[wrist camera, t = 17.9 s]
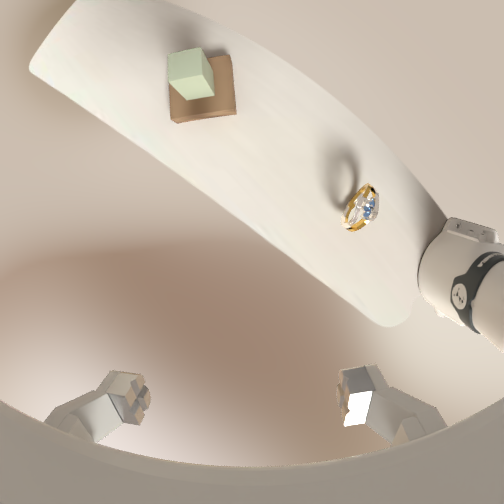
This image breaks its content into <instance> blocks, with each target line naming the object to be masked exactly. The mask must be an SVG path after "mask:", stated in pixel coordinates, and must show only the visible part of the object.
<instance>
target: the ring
mask: <svg viewBox="0 0 504 504" xmlns="http://www.w3.org/2000/svg"><path fill="white" fill-rule="evenodd" d="M370 191H371V192H372V195H373V197H372V198H370V200H367V196H368V194H369V192H370ZM358 200H359V201H358ZM357 201H358V203H357V206H356V209H355V213H354V215H353V218H352V219H351V220H350V221H349V222H348V216H349V214H350V212H351V210H352V209H353V208H354V207H355V204H356V202H357ZM362 203H363V206H361V205H362ZM369 207H370V208H369ZM378 208H379V195H378V192H377V190H376V189H375V188H374V187H373V186H371V185H370V184H369V183H367V184H365V185H364V186H363V187H362V188H361V189H360V190H359V191H358V192H357V193H356V194H355V195H354V196H353V198H352V199H351V200H350V201H349V202H348V203H347V206H346V208H345V210H344V212H343V214H342V217H341V225H342V226H343V227H344V228H345V229H347V230H348V231H351V232H353V231H357V230H359V229H361V228H362V227H364V226H365V225H366V224H367V223H368V222H369V221H373V220H374V219H375V218H376V217H377V214H378ZM360 209H362V210H363V213H362V214H361V216H360V217H361V218H362V219H361V220H360V221H359V222H357V223H356V224H354V223H355V222H356V220H357V218H358V215H359V212H360ZM370 214H371V215H370ZM369 215H370V216H369ZM368 216H369V217H368Z"/></svg>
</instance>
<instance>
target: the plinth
mask: <svg viewBox="0 0 504 504" xmlns="http://www.w3.org/2000/svg"><path fill="white" fill-rule="evenodd" d="M207 60H208V62H209V64H210V66H211V68H212V70H213V76H214V90H215V96H209V97H203V98H197V99H192V100H186V99H185V98H184V97H183V96H182V95H181V94H180V93H179V92H178V91H177V90H176V89H175V88H174V87H173V86H172V85H171V84H170V83H169V91H170V116H171V120H172V121H174V122H176V123H182V122H188V121H194V120H200V119H206V118H212V117H220V116H227V115H235V114H237V113H236V102H235V91H234V80H233V69H232V61H231V58H230V55H224V56H217V57H211V58H207Z"/></svg>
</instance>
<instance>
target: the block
mask: <svg viewBox="0 0 504 504" xmlns="http://www.w3.org/2000/svg"><path fill="white" fill-rule="evenodd" d="M168 82H169V83H170V84H171V85H172V86H173V87H174V88H175V89H176V90H177V91H178V92H179V93H180V94H181V95H182V96H183V97H184V98H185V99H186V100H192V99H197V98H203V97H209V96H215V90H214V76H213V70H212V68H211V66H210V64H209V62H208V60H207V58H206V56H205V54H204V52H203V50H202V48H201V47H198V48H193V49H188V50H183V51H179V52H175V53H170V54H168Z"/></svg>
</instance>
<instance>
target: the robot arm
mask: <svg viewBox="0 0 504 504" xmlns="http://www.w3.org/2000/svg"><path fill="white" fill-rule="evenodd" d="M456 225H457V227H456ZM418 283H419V289H420V292H421V295H422V296H423V298H424V299H425V300H426V301H427V302H428V303H429V304H431V305H432V306H433V307H434V309H435V312H436V314H437V315H438V316H440V317H445V316H447V317H449V318H450V319H452V320H453V321H455V322H456V323H458V324H459V325H461V326H464V325H466V326H467V327H468V328H469V329H470V330H472V331H474V332H476V333H478V334H482V335H483V336H484V337H485V338H486V339H488V340H489V341H490V342H491V343H492V344H493V345H495V347H497V348H498V349H499V350H500V351H501V352H502V353H504V245H503V244H501V243H499V238H498V234H497V231H496V230H494V229H491V228H488V227H485V226H482V225H478V224H475V223H471V222H467V221H464V220H461V219H457V218H452V217H451V218H449V219H448V220H447V222H446V224H445V226H444V228H443V230H442V232H441V233H440V234H439V235H438V236H437V237H436V238H435V239H434V240H433V241H432V242H431V243H430V245H429V246H428V248H427V249H426V251H425V253H424V255H423V258H422V260H421V264H420V268H419V275H418ZM338 378H339V381H340V383H339V384H338V385H337V400H338V405H339V407H340V408H342V412H341V416H342V419H343V423H344V425H345V426H346V425H352V424H358V423H364V422H365V424H366V425H368V426H369V427H370V428H371V429H373V430H374V431H375V432H376V433H378V434H379V435H380V436H382V437H383V438H384V439H385V440H387V441H388V442H389V443H391V446H390V447H389V448H386V449H382V450H378V451H374V452H371V453H367V454H362V455H357V456H353V457H347V458H342V459H337V460H330V461H324V462H316V463H308V464H298V465H287V466H267V467H231V466H213V465H201V464H192V463H184V462H176V461H170V460H163V459H158V458H152V457H147V456H143V455H138V454H134V453H129V452H126V451H122V450H118V449H114V448H111V447H107V446H104V445H101V444H97V443H98V442H99V441H100V440H102V439H103V438H104V437H106V436H107V435H109V434H110V433H111V432H113V431H114V430H115V429H117V428H118V427H119V426H121V425H122V424H123V423H128V424H134V425H140V423H141V422H142V420H143V418H144V415H145V414H144V412H143V411H145V410H146V409H148V407H149V405H150V400H151V396H150V392H149V389H148V388H147V387H146V386H145V385H144V383H145V379H144V377H143V375H141V374H136V373H129V372H121V371H114V370H112V371H110V372H109V374H108V375H107V376H106V378H105V379H104V380H103V382H102V383H101V384H100V386H99V387H98V388H97V390H96V391H94V390H93V391H91V392H88V393H86V394H84V395H82V396H80V397H78V398H76V399H74V400H71V401H69V402H67V403H65V404H63V405H60V406H58V407H56V408H55V409H54V410H53V411H52V412H51V414H50V415H49V416H48V417H47V419H46V420H45V421H44V422H41V421H39V420H37V419H35V418H32V417H31V416H28V415H27V414H25V413H23V412H21V411H19V410H17V409H15V408H14V407H12V406H10V405H8V404H7V403H5V402H4V401H2V400H0V504H504V398H502V399H500V400H499V401H497V402H495V403H494V404H492V405H490V406H488V407H487V408H485V409H483V410H481V411H479V412H478V413H475V414H474V415H472V416H470V417H468V418H466V419H464V420H461V421H459V422H457V423H455V424H453V425H451V426H447V425H446V423H445V421H444V420H443V418H442V416H441V415H440V413H439V412H438V410H437V409H436V407H434V406H431V405H429V404H427V403H425V402H422V401H421V400H419V399H416V398H414V397H412V396H410V395H408V394H406V393H404V392H402V391H400V390H398V389H396V388H394V387H389V386H388V384H387V382H386V380H385V379H384V377H383V375H382V373H381V371H380V370H379V368H378V366H377V364H369V365H364V366H360V367H355V368H349V369H342V370H340V371H339V376H338Z"/></svg>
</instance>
